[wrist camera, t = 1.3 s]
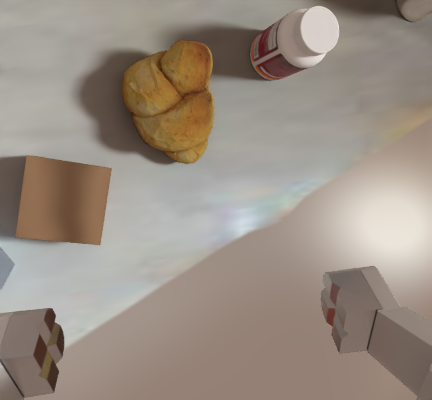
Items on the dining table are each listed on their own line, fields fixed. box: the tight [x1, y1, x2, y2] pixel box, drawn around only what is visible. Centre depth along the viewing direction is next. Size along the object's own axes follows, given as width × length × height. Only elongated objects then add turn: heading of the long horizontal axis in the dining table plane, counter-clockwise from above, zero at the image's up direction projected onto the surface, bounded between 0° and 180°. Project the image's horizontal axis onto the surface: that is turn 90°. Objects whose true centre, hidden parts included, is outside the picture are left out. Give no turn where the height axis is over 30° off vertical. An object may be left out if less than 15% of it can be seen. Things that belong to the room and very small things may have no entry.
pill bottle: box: [250, 6, 339, 80], centre depth 46 cm, size 6×6×11 cm
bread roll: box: [122, 40, 214, 164], centre depth 44 cm, size 13×10×8 cm
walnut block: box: [15, 155, 111, 245], centre depth 43 cm, size 8×8×5 cm
